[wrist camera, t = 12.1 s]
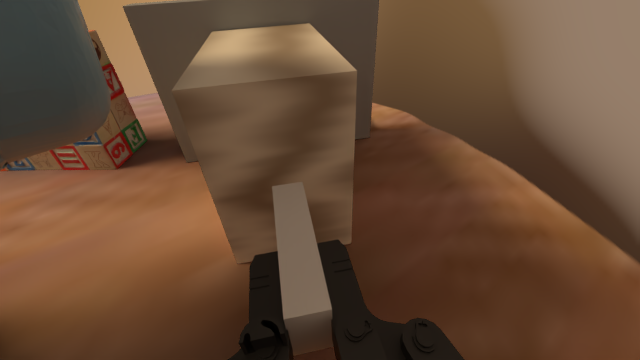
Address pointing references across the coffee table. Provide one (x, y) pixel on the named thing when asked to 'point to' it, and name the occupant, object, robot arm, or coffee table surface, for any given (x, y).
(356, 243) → the coffee table surface
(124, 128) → the stack of blocks
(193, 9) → the stop board
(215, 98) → the ash block
